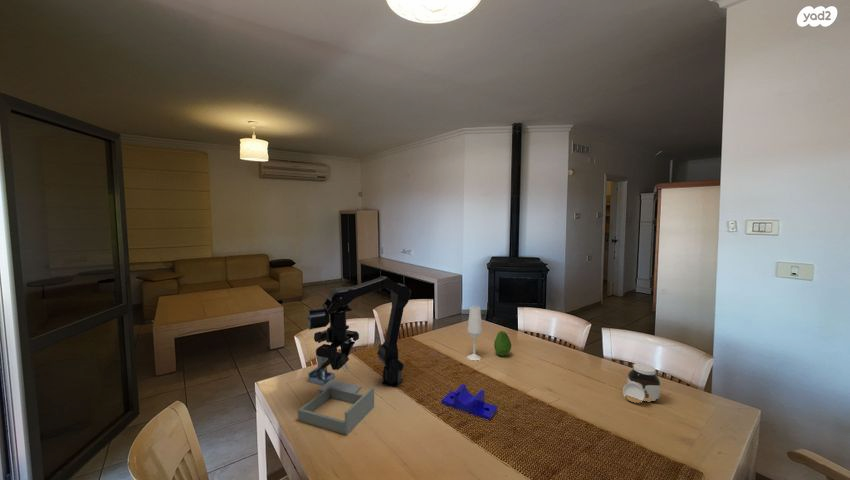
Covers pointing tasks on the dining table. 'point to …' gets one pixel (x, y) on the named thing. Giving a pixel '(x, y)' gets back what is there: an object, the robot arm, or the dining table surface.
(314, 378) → the blue gray open box
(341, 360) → the power plug
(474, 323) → the champagne flute
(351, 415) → the case
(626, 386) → the spread jar
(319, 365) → the dark gray cup
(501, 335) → the avocado
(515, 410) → the dining table surface
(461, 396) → the mounting bracket
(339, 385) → the mat
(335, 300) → the robot arm
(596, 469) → the dining table surface
